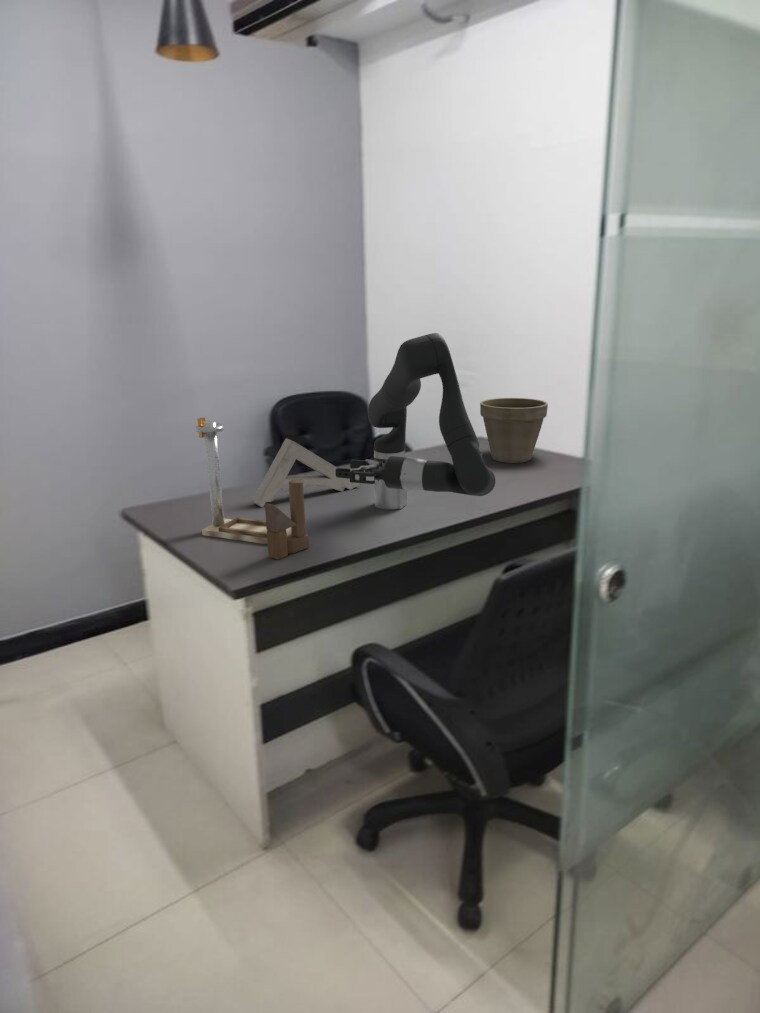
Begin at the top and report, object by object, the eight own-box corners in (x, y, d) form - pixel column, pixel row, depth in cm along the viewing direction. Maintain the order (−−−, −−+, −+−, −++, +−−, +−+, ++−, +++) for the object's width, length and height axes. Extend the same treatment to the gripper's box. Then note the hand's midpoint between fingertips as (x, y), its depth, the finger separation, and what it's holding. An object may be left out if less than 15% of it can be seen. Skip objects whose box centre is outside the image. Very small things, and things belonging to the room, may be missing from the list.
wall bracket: (329, 541, 224) (257, 504, 205) (323, 537, 227) (251, 501, 209) (361, 482, 225) (292, 440, 207) (354, 479, 228) (285, 438, 210)
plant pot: (471, 451, 271) (473, 397, 264) (531, 449, 273) (535, 395, 267) (487, 468, 247) (490, 408, 240) (553, 465, 250) (557, 406, 243)
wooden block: (267, 556, 169) (263, 487, 164) (299, 544, 177) (296, 477, 171) (277, 560, 167) (273, 490, 161) (309, 547, 175) (306, 480, 169)
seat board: (298, 533, 185) (298, 524, 184) (280, 546, 176) (280, 536, 175) (223, 523, 193) (222, 514, 192) (202, 535, 184) (201, 526, 184)
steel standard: (236, 527, 190) (228, 417, 180) (222, 535, 184) (213, 422, 174) (215, 524, 192) (205, 415, 183) (200, 532, 186) (190, 420, 176)
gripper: (417, 451, 163) (354, 446, 168) (397, 465, 150) (330, 459, 156) (417, 481, 165) (355, 475, 171) (397, 497, 152) (331, 491, 158)
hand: (343, 468), depth 163 cm, fingers open, 8 cm apart
